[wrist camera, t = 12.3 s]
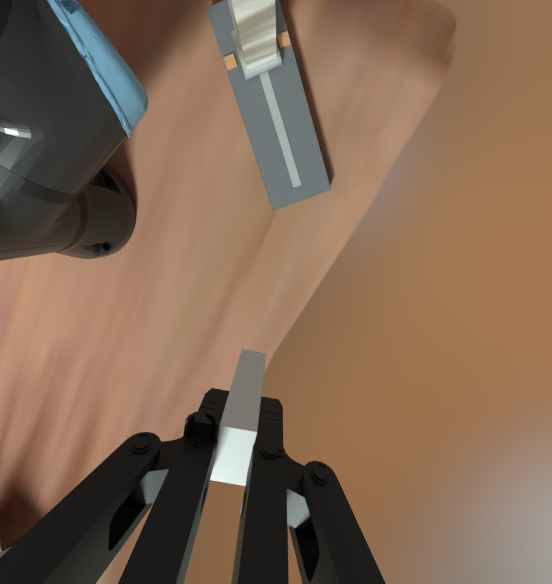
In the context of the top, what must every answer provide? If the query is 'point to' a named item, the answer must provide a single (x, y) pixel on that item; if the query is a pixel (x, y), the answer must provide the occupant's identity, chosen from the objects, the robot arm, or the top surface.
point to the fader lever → (255, 35)
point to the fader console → (275, 116)
